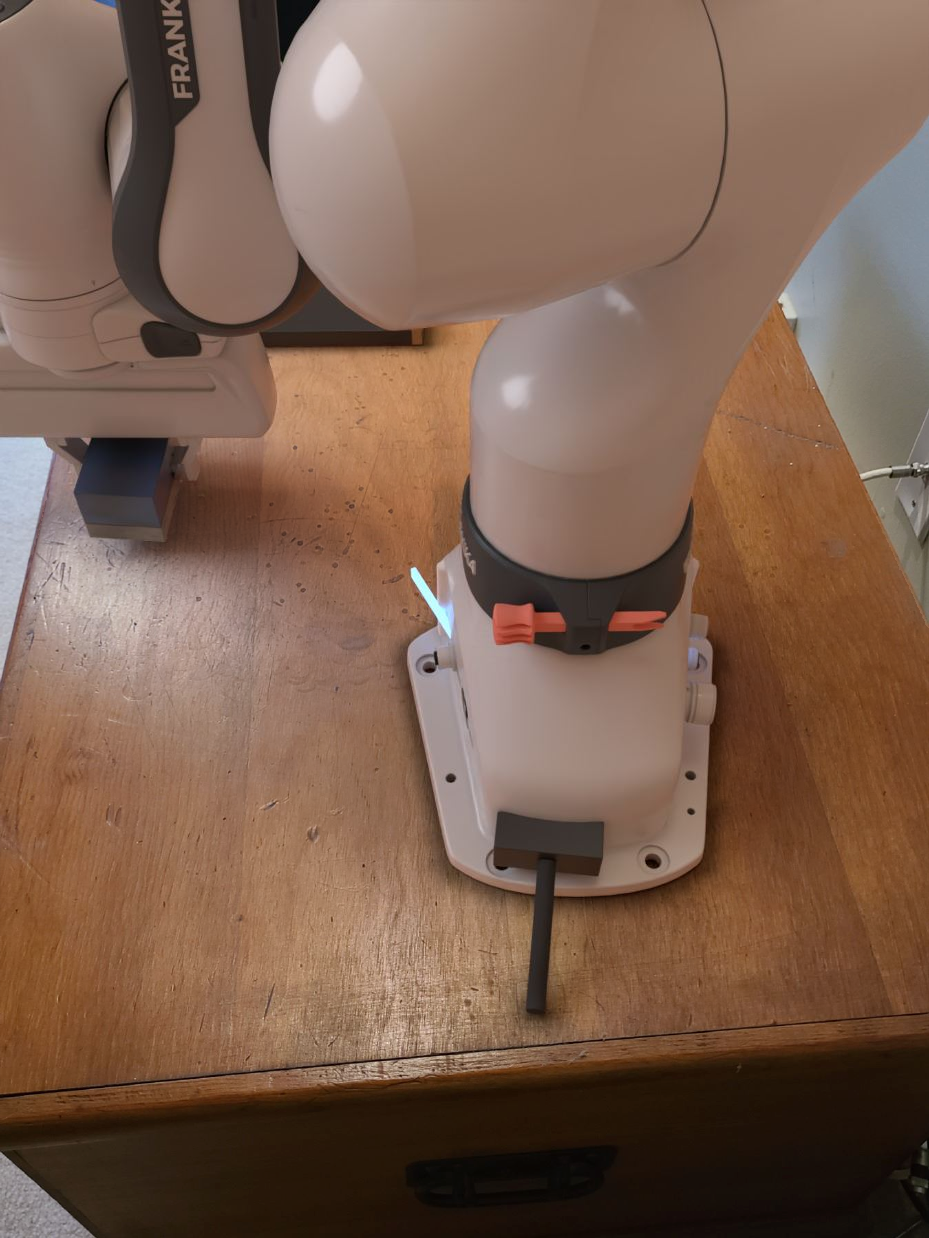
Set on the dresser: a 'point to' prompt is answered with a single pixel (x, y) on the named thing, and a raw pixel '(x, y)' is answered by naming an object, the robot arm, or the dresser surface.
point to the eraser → (127, 488)
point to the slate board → (334, 327)
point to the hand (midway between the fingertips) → (141, 474)
